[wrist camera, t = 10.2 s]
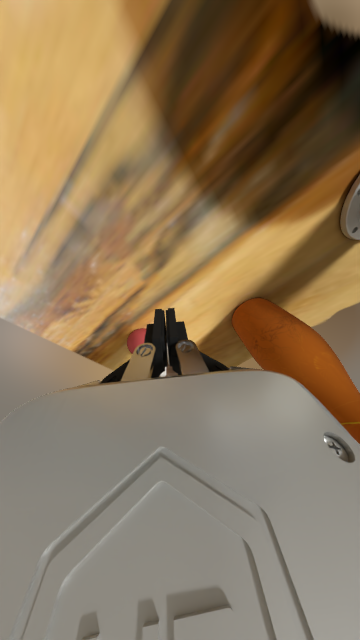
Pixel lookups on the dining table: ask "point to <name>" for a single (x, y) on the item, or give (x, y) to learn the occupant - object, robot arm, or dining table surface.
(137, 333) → the ball
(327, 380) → the wine bottle
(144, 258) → the dining table surface
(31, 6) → the dining table surface
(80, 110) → the dining table surface
